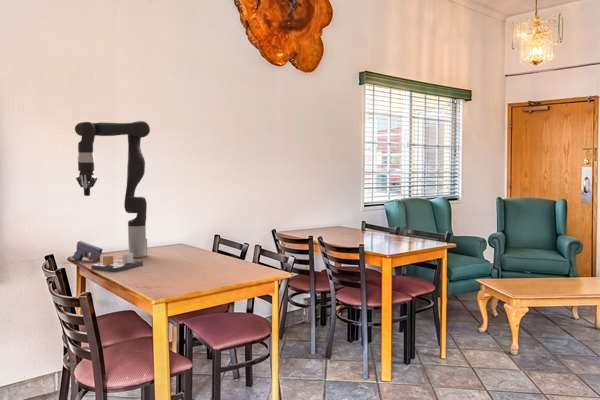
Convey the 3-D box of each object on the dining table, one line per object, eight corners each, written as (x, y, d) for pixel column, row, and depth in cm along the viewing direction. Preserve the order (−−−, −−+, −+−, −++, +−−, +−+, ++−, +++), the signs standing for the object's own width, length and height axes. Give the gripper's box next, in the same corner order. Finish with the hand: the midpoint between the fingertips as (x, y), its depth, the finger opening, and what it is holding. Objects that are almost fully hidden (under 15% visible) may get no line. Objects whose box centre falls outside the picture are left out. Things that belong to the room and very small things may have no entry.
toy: (96, 267, 254) (100, 249, 253) (71, 258, 257) (75, 240, 256) (100, 266, 256) (103, 248, 255) (75, 257, 260) (79, 239, 258)
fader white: (128, 261, 241) (128, 252, 241) (133, 262, 240) (133, 253, 240) (123, 262, 238) (123, 253, 238) (127, 263, 237) (127, 254, 236)
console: (119, 262, 252) (119, 258, 251) (143, 265, 245) (143, 261, 245) (91, 268, 235) (91, 264, 235) (115, 272, 228) (115, 267, 228)
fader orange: (108, 263, 236) (108, 254, 236) (113, 264, 235) (113, 254, 234) (102, 264, 233) (102, 255, 232) (107, 265, 232) (107, 256, 231)
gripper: (101, 161, 245) (102, 195, 247) (82, 161, 251) (83, 195, 252) (89, 161, 239) (90, 196, 240) (70, 161, 244) (71, 195, 245)
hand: (87, 195), depth 246 cm, fingers closed
